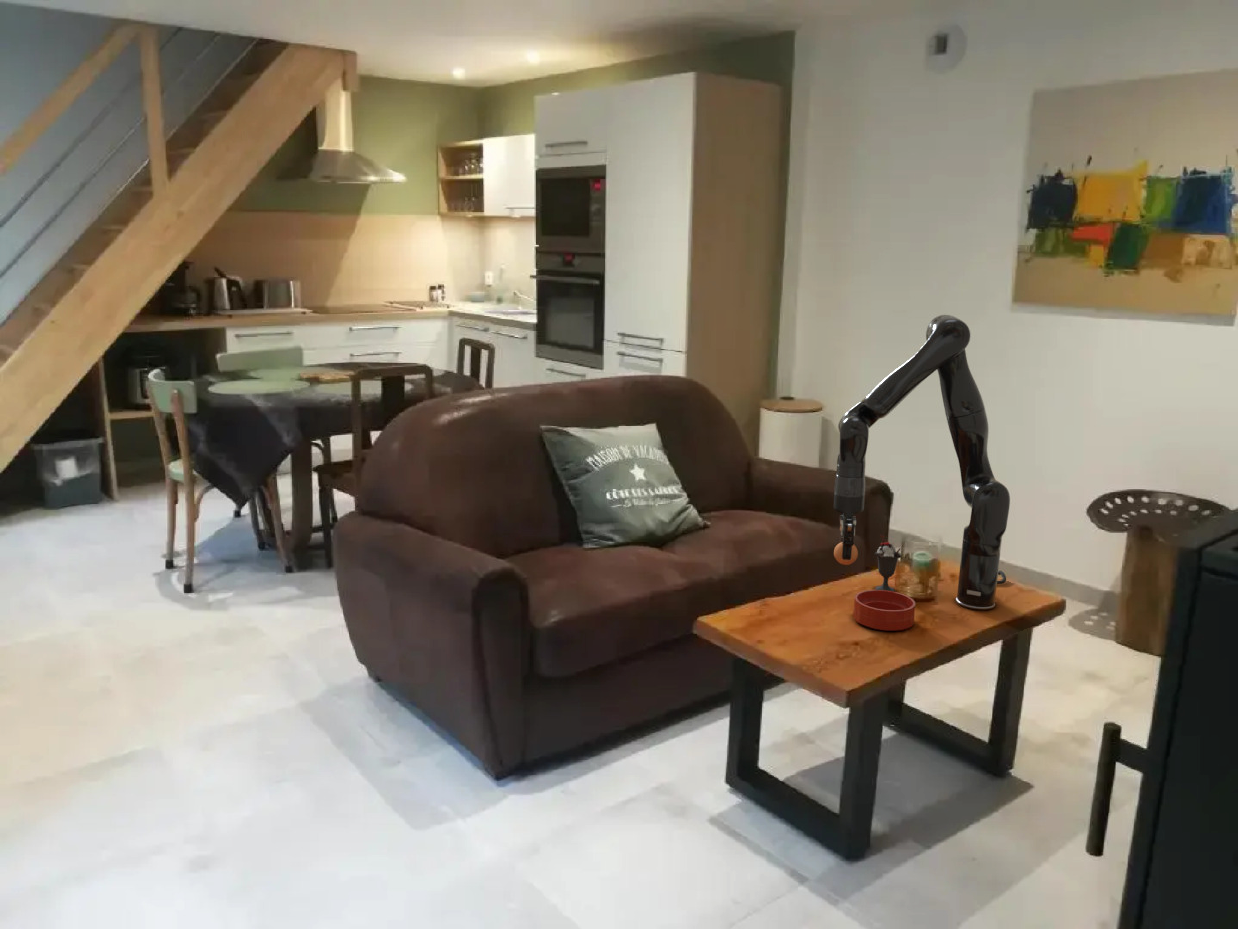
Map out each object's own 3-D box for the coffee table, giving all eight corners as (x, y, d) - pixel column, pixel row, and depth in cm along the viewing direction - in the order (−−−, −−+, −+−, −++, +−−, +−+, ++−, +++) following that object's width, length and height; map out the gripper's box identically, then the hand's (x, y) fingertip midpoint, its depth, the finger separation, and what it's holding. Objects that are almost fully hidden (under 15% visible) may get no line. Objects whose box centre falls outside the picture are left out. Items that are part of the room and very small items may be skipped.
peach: (839, 558, 254) (841, 534, 253) (861, 563, 251) (862, 538, 249) (829, 564, 250) (830, 539, 248) (850, 569, 246) (852, 544, 245)
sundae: (867, 586, 261) (871, 533, 257) (889, 584, 262) (894, 531, 259) (879, 595, 255) (883, 540, 251) (902, 593, 256) (907, 539, 253)
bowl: (868, 606, 247) (870, 585, 246) (922, 620, 238) (924, 599, 237) (843, 622, 236) (844, 601, 235) (898, 637, 227) (900, 615, 226)
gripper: (867, 500, 238) (862, 565, 242) (862, 485, 252) (858, 547, 256) (835, 498, 240) (832, 563, 243) (832, 484, 253) (829, 545, 257)
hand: (845, 555), depth 250 cm, fingers closed on peach, 6 cm apart
